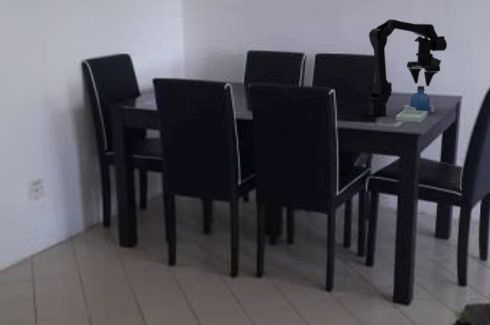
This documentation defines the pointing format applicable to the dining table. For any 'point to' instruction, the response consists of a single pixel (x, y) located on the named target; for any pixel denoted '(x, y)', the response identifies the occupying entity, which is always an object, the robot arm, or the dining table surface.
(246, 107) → the dining table surface
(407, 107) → the bay
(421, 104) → the perfume bottle
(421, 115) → the tray
